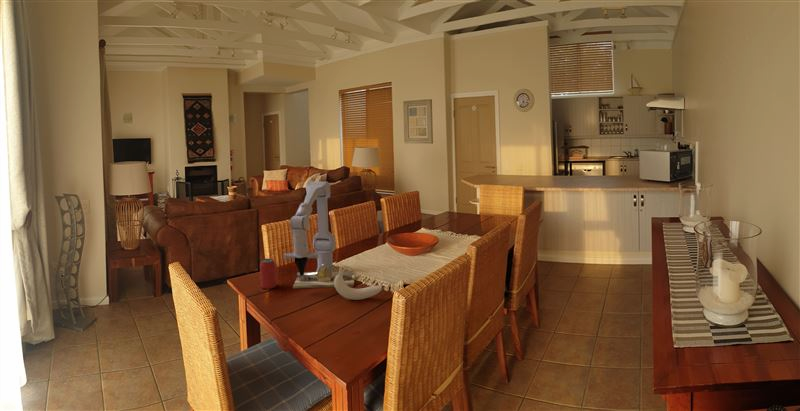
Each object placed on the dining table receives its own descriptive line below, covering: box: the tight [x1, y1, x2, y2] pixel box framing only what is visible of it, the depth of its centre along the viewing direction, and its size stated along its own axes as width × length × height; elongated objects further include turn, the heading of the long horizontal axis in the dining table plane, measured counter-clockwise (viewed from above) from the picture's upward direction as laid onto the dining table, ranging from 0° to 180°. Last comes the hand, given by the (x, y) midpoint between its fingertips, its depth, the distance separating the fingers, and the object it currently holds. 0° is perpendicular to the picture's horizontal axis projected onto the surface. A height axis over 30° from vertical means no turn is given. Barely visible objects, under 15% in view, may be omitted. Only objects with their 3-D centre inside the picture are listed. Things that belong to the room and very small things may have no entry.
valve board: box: [292, 273, 356, 289], centre depth 213 cm, size 14×26×1 cm, turn 92°
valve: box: [296, 267, 353, 282], centre depth 213 cm, size 5×24×6 cm, turn 92°
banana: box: [334, 266, 383, 301], centre depth 191 cm, size 5×19×15 cm, turn 100°
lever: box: [318, 263, 327, 276], centre depth 207 cm, size 13×2×2 cm, turn 2°
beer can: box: [259, 258, 278, 290], centre depth 208 cm, size 7×7×12 cm
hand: (302, 274), depth 204 cm, fingers closed
